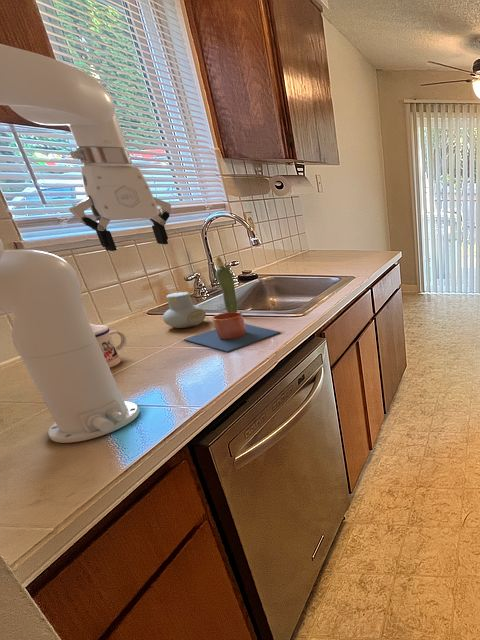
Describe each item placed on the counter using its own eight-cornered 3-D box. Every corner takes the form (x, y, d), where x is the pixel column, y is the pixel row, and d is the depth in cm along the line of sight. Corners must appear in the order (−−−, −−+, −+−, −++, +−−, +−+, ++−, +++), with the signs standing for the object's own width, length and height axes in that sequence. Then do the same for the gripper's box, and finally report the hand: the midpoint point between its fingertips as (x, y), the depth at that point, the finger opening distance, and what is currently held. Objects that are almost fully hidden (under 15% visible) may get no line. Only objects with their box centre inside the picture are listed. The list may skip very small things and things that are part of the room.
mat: (280, 333, 118) (280, 331, 118) (227, 352, 105) (227, 351, 105) (237, 323, 126) (237, 322, 126) (184, 340, 113) (184, 339, 113)
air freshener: (185, 331, 120) (174, 299, 116) (161, 330, 121) (149, 298, 117) (212, 320, 130) (203, 290, 125) (190, 319, 131) (180, 289, 127)
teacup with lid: (88, 376, 93) (65, 329, 88) (65, 371, 96) (42, 325, 91) (143, 357, 103) (126, 313, 98) (121, 352, 106) (103, 310, 101)
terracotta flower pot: (252, 333, 117) (247, 313, 114) (228, 341, 111) (222, 321, 108) (237, 329, 120) (231, 310, 117) (213, 337, 114) (206, 317, 112)
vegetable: (229, 314, 135) (212, 254, 127) (243, 312, 137) (227, 253, 128) (226, 318, 132) (208, 256, 123) (241, 316, 133) (224, 255, 124)
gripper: (57, 156, 71) (97, 254, 78) (164, 159, 85) (190, 242, 92) (40, 158, 74) (79, 252, 81) (146, 160, 88) (172, 240, 95)
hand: (138, 247), depth 86 cm, fingers open, 9 cm apart
